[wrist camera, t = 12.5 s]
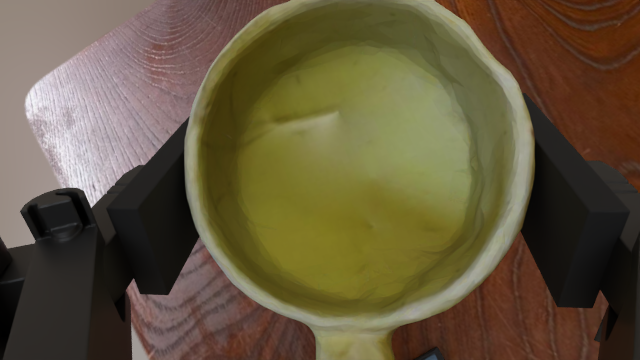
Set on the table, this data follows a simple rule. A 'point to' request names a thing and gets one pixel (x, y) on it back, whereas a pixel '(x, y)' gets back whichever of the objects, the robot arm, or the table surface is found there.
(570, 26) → the table surface
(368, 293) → the mug
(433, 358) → the sorting mat
